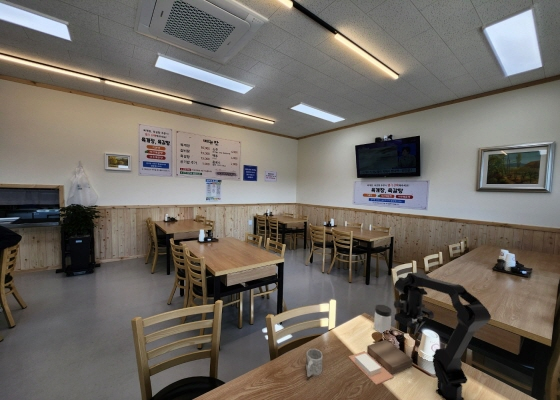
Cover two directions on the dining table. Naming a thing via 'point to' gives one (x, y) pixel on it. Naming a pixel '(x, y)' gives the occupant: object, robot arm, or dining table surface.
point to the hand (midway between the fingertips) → (413, 334)
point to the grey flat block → (367, 364)
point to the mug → (314, 362)
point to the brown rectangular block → (389, 357)
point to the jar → (382, 318)
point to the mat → (375, 378)
